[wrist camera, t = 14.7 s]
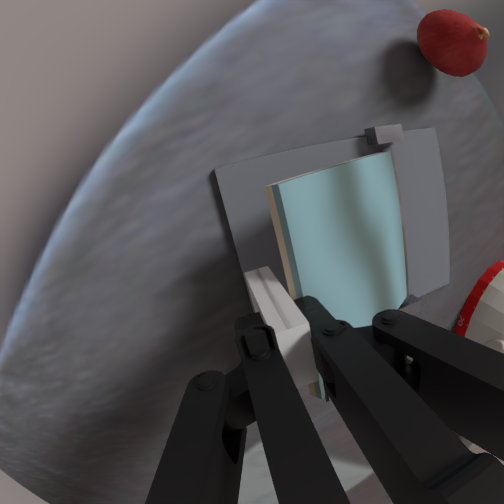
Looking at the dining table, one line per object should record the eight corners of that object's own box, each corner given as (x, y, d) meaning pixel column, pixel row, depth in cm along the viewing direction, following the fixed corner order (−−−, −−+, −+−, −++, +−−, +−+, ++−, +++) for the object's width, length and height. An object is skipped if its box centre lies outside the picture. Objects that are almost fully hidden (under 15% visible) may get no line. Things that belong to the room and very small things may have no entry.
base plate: (264, 351, 23) (266, 355, 22) (213, 168, 19) (214, 168, 18) (445, 280, 24) (449, 282, 24) (430, 128, 20) (434, 127, 20)
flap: (410, 294, 22) (400, 293, 23) (393, 147, 19) (382, 148, 20) (323, 401, 15) (310, 396, 16) (277, 179, 12) (262, 181, 12)
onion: (412, 15, 18) (469, -16, 10) (453, 59, 19) (514, 42, 11) (389, 47, 18) (453, 15, 11) (435, 95, 20) (503, 82, 12)
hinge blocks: (389, 315, 23) (398, 322, 22) (364, 129, 19) (374, 127, 18) (411, 305, 24) (420, 312, 22) (390, 125, 19) (401, 123, 18)
